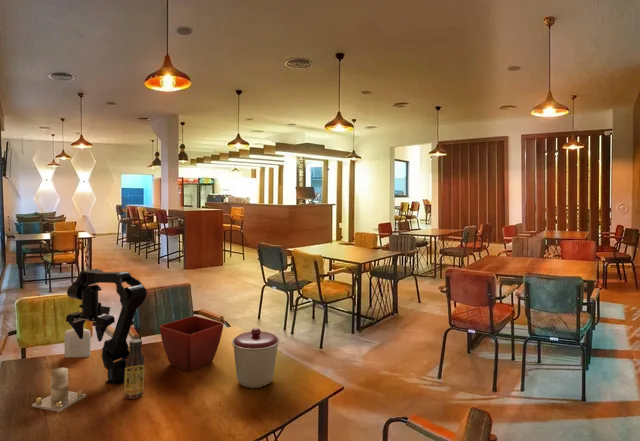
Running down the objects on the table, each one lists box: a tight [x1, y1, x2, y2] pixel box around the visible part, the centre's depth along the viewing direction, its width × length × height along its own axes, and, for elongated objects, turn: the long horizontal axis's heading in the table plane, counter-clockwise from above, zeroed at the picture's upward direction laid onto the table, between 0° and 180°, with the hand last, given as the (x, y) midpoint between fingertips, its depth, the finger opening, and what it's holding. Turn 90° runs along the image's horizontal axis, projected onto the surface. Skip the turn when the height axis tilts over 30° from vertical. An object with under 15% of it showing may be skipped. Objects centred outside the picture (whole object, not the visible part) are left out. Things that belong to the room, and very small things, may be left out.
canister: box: [231, 327, 281, 389], centre depth 156 cm, size 18×18×21 cm
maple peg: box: [49, 367, 69, 403], centre depth 138 cm, size 5×5×10 cm
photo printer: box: [64, 328, 92, 359], centre depth 178 cm, size 10×4×12 cm, turn 98°
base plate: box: [31, 389, 87, 413], centre depth 139 cm, size 11×11×2 cm
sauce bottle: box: [123, 338, 145, 400], centre depth 143 cm, size 6×6×20 cm
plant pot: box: [159, 315, 224, 372], centre depth 172 cm, size 19×19×17 cm
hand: (90, 340), depth 162 cm, fingers open, 9 cm apart
